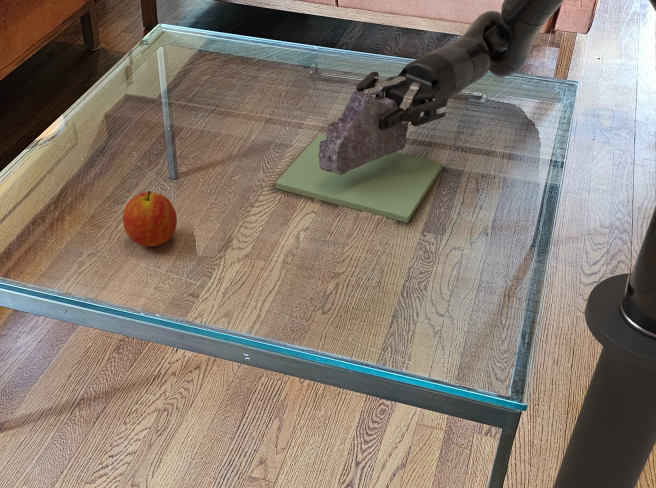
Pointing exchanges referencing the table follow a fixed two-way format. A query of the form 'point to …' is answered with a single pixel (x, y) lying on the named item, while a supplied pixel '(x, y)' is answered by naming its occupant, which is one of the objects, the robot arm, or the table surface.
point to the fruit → (149, 219)
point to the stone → (360, 135)
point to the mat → (364, 182)
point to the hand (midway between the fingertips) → (365, 117)
